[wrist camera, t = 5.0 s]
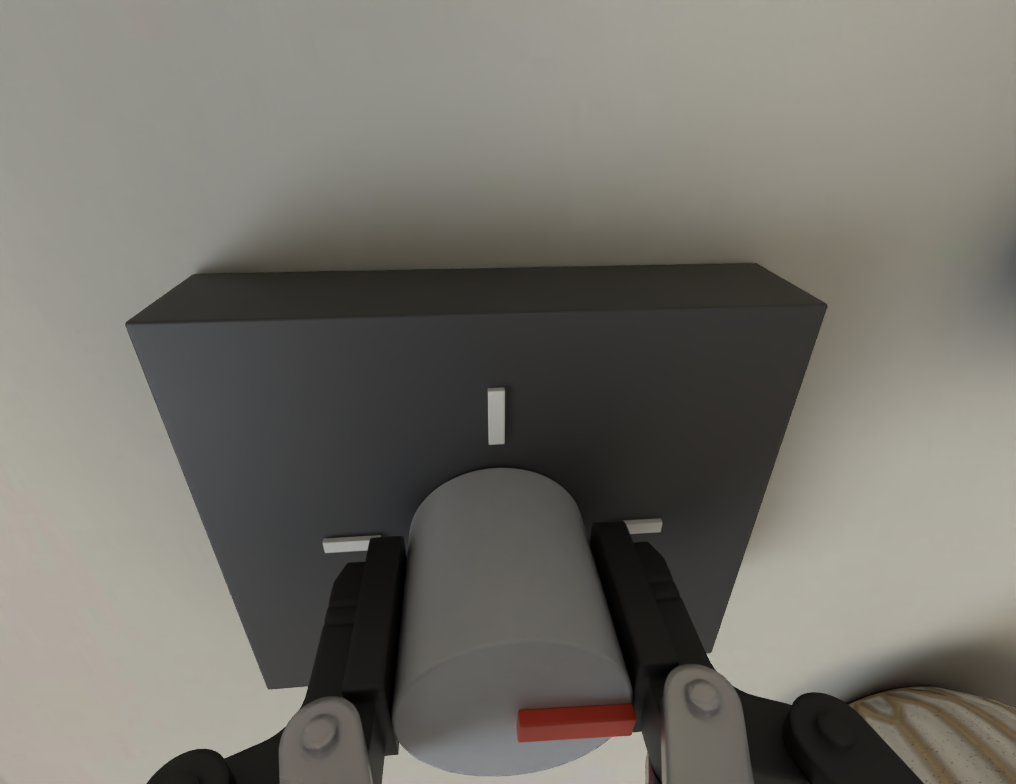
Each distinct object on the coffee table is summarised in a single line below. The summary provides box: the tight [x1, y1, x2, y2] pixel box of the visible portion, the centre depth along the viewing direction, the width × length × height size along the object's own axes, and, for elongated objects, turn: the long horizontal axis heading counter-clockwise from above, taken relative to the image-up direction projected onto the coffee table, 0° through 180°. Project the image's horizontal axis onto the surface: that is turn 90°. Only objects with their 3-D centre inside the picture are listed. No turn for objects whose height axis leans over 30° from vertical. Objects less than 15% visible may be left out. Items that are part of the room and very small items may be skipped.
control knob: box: [391, 468, 637, 776], centre depth 11 cm, size 4×4×5 cm
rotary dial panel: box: [125, 263, 827, 689], centre depth 15 cm, size 14×12×3 cm
